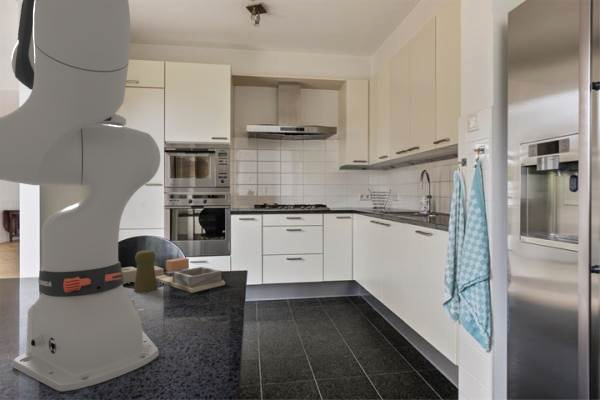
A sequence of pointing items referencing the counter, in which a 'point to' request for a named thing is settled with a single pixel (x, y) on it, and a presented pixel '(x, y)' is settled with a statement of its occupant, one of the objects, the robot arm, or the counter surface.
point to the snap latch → (177, 264)
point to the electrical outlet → (130, 273)
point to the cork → (145, 272)
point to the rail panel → (192, 279)
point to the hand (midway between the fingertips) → (85, 170)
